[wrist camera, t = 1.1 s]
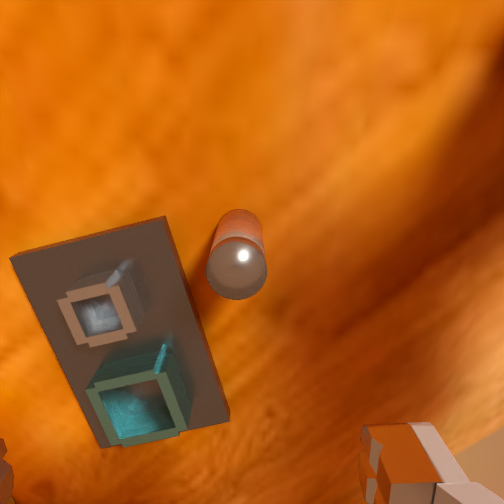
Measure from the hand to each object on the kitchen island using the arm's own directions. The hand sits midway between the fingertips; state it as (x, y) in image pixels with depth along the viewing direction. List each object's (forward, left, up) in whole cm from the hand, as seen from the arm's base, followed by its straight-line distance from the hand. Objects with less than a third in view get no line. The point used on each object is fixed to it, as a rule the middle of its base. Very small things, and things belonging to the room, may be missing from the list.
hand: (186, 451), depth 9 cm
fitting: (0, +2, -27) cm, 27 cm away
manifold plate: (+13, +10, -27) cm, 32 cm away
